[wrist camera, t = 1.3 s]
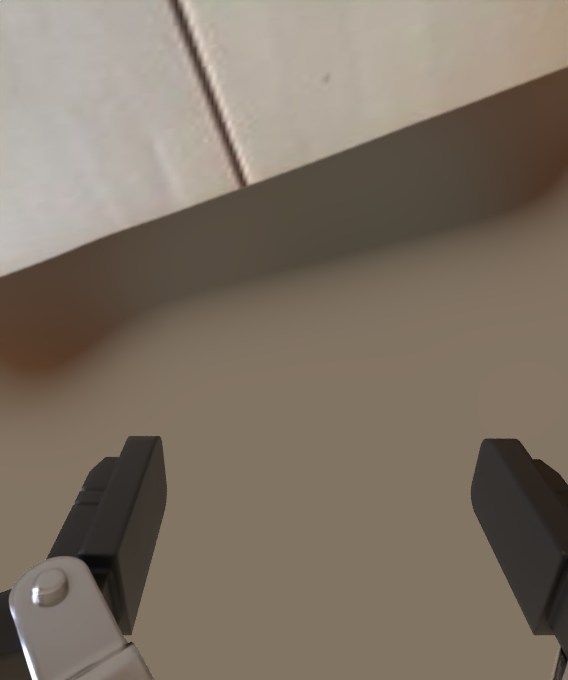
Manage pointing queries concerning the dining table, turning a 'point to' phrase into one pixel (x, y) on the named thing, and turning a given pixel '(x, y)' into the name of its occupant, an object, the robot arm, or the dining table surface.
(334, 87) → the dining table surface
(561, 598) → the robot arm
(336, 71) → the dining table surface
